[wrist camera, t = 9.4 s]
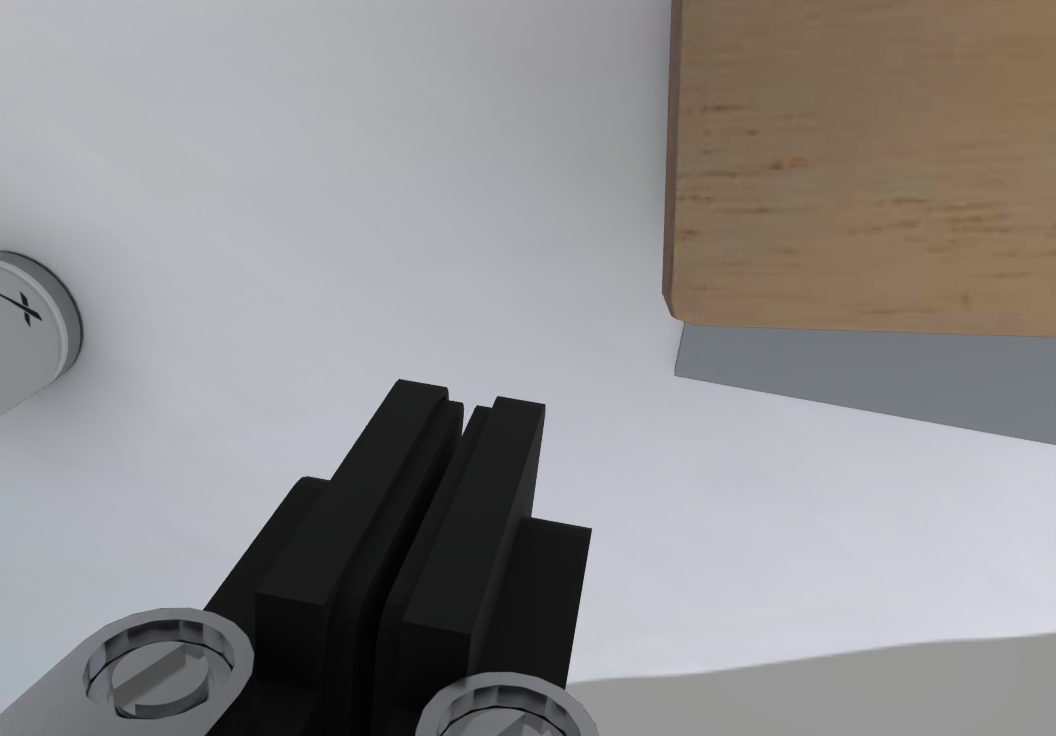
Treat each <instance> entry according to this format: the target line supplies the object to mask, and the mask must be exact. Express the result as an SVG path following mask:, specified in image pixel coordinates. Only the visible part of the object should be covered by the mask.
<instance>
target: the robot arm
mask: <svg viewBox="0 0 1056 736" xmlns="http://www.w3.org/2000/svg"><path fill="white" fill-rule="evenodd" d="M463 417H464V405H463V403H461V402H455V401H449V394H448V389H447V387H442V386H436V385H430V384H425V383H419V382H413V381H407V380H402V379H399V380H398V381H397V382H396V383H395V384H394V386H393V387H392V389H391V390H390V392H389V393H388V395H387V396H386V398H385V399H384V401H383V402H382V404H381V405H380V407H379V408H378V410H377V411H376V413H375V414H374V416H373V417H372V419H371V420H370V422H369V423H368V425H367V426H366V428H365V429H364V430H363V432H362V433H361V435H360V436H359V438H358V439H357V441H356V442H355V444H354V445H353V447H352V448H351V450H350V451H349V453H348V454H347V456H346V457H345V459H344V460H343V462H342V463H341V465H340V466H339V468H338V469H337V471H336V472H335V474H334V475H333V477H332V478H331V480H325V479H320V478H314V477H309V476H307V477H302V478H301V479H300V480H299V481H298V482H297V483H296V484H295V485H294V486H293V488H292V489H291V490H290V492H289V493H288V495H287V496H286V497H285V499H284V500H283V501H282V503H281V504H280V505H279V507H278V508H277V510H276V511H275V512H274V514H273V515H272V516H271V518H270V519H269V520H268V522H267V523H266V525H265V526H264V527H263V529H262V530H261V531H260V533H259V534H258V536H257V537H256V538H255V540H254V541H253V542H252V544H251V545H250V546H249V548H248V549H247V551H246V552H245V553H244V555H243V556H242V557H241V559H240V560H239V561H238V563H237V564H236V566H235V567H234V568H233V570H232V571H231V572H230V574H229V575H228V577H227V578H226V579H225V581H224V582H223V583H222V585H221V586H220V587H219V589H218V590H217V592H216V593H215V594H214V596H213V597H212V598H211V600H210V601H209V602H208V604H207V605H206V607H205V608H204V609H203V610H197V609H192V608H160V609H155V610H150V611H145V612H140V613H136V614H132V615H129V616H127V617H125V618H122V619H120V620H117V621H115V622H112V623H110V624H108V625H106V626H104V627H103V628H101V629H100V630H98V631H97V632H95V633H94V634H93V635H91V636H90V637H88V638H87V639H85V640H84V641H83V642H82V643H80V644H79V645H78V646H77V647H76V648H75V649H74V650H73V651H71V652H70V653H69V654H68V655H67V656H66V657H65V658H63V659H62V660H61V661H60V662H59V663H58V664H57V665H55V666H54V667H53V668H52V669H51V670H50V671H49V672H48V673H46V674H45V675H44V676H43V677H42V678H41V679H40V680H38V681H37V682H36V683H35V684H34V685H33V686H32V687H30V688H29V689H28V690H27V691H26V692H25V693H24V694H22V695H21V696H20V697H19V698H18V699H17V700H16V701H15V702H13V703H12V704H11V705H10V706H9V707H8V708H7V709H5V710H4V711H3V712H2V713H1V714H0V736H599V733H598V729H597V726H596V723H595V722H594V720H593V719H592V718H591V716H590V715H589V713H588V712H587V711H586V709H585V708H584V706H583V705H582V704H581V703H580V702H579V701H577V700H576V699H575V698H574V697H572V696H571V695H570V694H568V693H567V692H566V691H565V687H566V681H567V675H568V669H569V664H570V658H571V652H572V646H573V640H574V634H575V628H576V622H577V616H578V610H579V604H580V598H581V592H582V586H583V580H584V574H585V568H586V562H587V556H588V550H589V544H590V538H591V532H592V528H586V527H581V526H575V525H570V524H564V523H559V522H554V521H548V520H543V519H537V518H532V517H531V514H532V507H533V499H534V492H535V485H536V478H537V470H538V463H539V456H540V448H541V441H542V434H543V427H544V419H545V404H541V403H535V402H529V401H523V400H517V399H512V398H506V397H500V396H497V398H496V400H495V402H494V404H493V407H492V408H490V407H484V406H478V405H477V406H476V407H475V409H474V412H473V414H472V416H471V418H470V420H469V422H468V424H467V427H466V429H465V431H464V433H463V435H462V427H463Z"/></svg>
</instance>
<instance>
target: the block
mask: <svg viewBox="0 0 1056 736" xmlns="http://www.w3.org/2000/svg"><path fill="white" fill-rule="evenodd" d="M662 294H663V296H664V299H665V301H666V304H667V306H668V309H669V311H670V314H671V316H672V317H674V318H676V319H679V320H682V321H685V322H687V323H689V324H692V325H694V326H711V327H741V328H772V329H803V330H834V331H865V332H896V333H926V334H957V335H988V336H1019V337H1050V338H1056V0H672V5H671V35H670V66H669V96H668V127H667V157H666V187H665V218H664V248H663V279H662Z"/></svg>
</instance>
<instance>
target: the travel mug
mask: <svg viewBox="0 0 1056 736" xmlns="http://www.w3.org/2000/svg"><path fill="white" fill-rule="evenodd" d="M80 340H81V338H80V324H79V319H78V315H77V312H76V310H75V307H74V305H73V302H72V300H71V299H70V297H69V296H68V294H67V292H66V291H65V289H64V288H63V287H62V286H61V284H60V283H59V282H58V281H57V280H56V279H55V278H54V277H53V276H52V275H51V274H50V273H49V272H47V271H46V270H45V269H44V268H42V267H41V266H39V265H37V264H36V263H34V262H33V261H31V260H28V259H26V258H23V257H21V256H19V255H15V254H11V253H6V252H0V416H1V415H3V414H4V413H6V412H7V411H9V410H10V409H12V408H13V407H15V406H16V405H18V404H19V403H21V402H22V401H24V400H25V399H27V398H28V397H30V396H31V395H33V394H34V393H36V392H37V391H38V390H40V389H41V388H43V387H45V386H46V385H48V384H49V383H51V382H52V381H54V380H55V379H57V378H58V377H60V376H61V375H62V374H64V373H65V372H66V371H67V370H68V369H69V368H70V367H71V365H72V364H73V363H74V361H75V359H76V356H77V354H78V351H79V346H80Z"/></svg>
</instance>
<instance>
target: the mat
mask: <svg viewBox="0 0 1056 736" xmlns="http://www.w3.org/2000/svg"><path fill="white" fill-rule="evenodd" d="M674 376H678V377H684V378H689V379H695V380H700V381H706V382H711V383H717V384H722V385H728V386H733V387H739V388H744V389H750V390H755V391H761V392H766V393H772V394H777V395H783V396H788V397H794V398H799V399H805V400H810V401H816V402H821V403H827V404H832V405H838V406H843V407H849V408H855V409H860V410H866V411H871V412H877V413H882V414H888V415H893V416H899V417H904V418H910V419H915V420H921V421H926V422H932V423H937V424H943V425H948V426H954V427H959V428H965V429H970V430H976V431H981V432H987V433H992V434H998V435H1003V436H1009V437H1014V438H1020V439H1025V440H1031V441H1036V442H1042V443H1048V444H1053V445H1056V338H1050V337H1019V336H988V335H957V334H926V333H896V332H865V331H834V330H803V329H772V328H741V327H711V326H694V325H692V324H689V323H687V322H685V323H684V328H683V333H682V338H681V342H680V347H679V352H678V357H677V361H676V366H675V375H674Z"/></svg>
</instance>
